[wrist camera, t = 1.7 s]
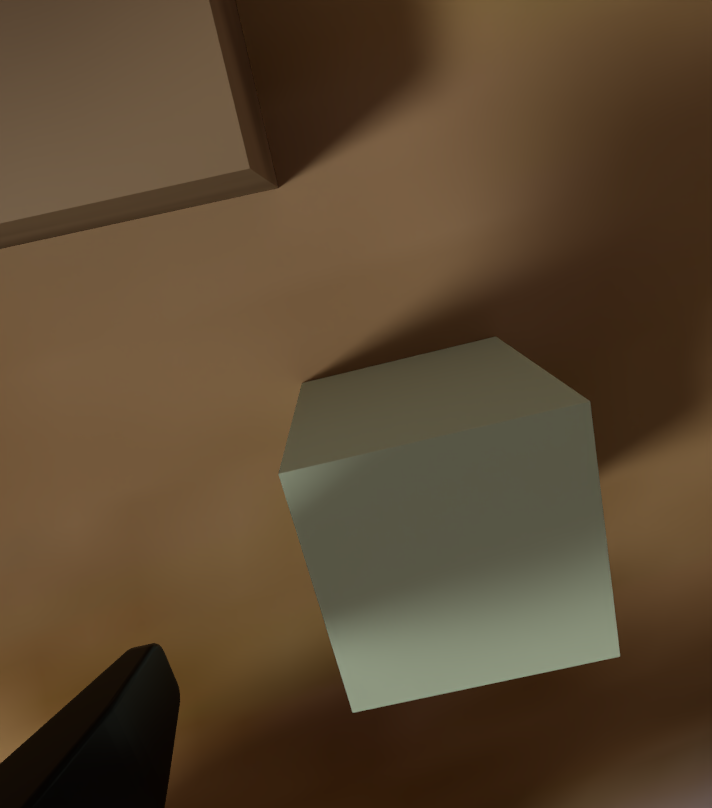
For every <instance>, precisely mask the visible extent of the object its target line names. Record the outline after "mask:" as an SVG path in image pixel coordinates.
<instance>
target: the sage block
mask: <svg viewBox="0 0 712 808" xmlns="http://www.w3.org/2000/svg"><path fill="white" fill-rule="evenodd" d="M279 477H280V480H281V484H282V487H283V490H284V493H285V496H286V500H287V503H288V506H289V509H290V513H291V516H292V519H293V522H294V525H295V529H296V532H297V535H298V538H299V542H300V545H301V548H302V551H303V554H304V558H305V561H306V564H307V567H308V571H309V574H310V577H311V580H312V583H313V587H314V590H315V593H316V596H317V600H318V603H319V606H320V609H321V612H322V616H323V619H324V622H325V625H326V629H327V632H328V635H329V638H330V641H331V645H332V648H333V651H334V654H335V658H336V661H337V664H338V667H339V670H340V674H341V677H342V680H343V683H344V686H345V690H346V693H347V696H348V699H349V703H350V706H351V709H352V712H353V713H355V712H359V711H364V710H369V709H374V708H378V707H383V706H388V705H393V704H397V703H402V702H407V701H412V700H416V699H421V698H426V697H431V696H435V695H440V694H445V693H450V692H454V691H459V690H464V689H469V688H473V687H478V686H483V685H488V684H492V683H497V682H502V681H507V680H511V679H516V678H521V677H526V676H530V675H535V674H540V673H545V672H549V671H554V670H559V669H564V668H568V667H573V666H578V665H583V664H587V663H592V662H597V661H602V660H606V659H611V658H616V657H620V650H619V642H618V633H617V625H616V616H615V608H614V599H613V591H612V582H611V574H610V566H609V557H608V549H607V540H606V532H605V523H604V515H603V506H602V498H601V489H600V481H599V472H598V464H597V455H596V447H595V438H594V430H593V421H592V413H591V404H590V401H589V400H588V399H586V398H585V397H583V396H582V395H580V394H579V393H577V392H576V391H575V390H573V389H572V388H570V387H569V386H567V385H566V384H564V383H563V382H561V381H560V380H559V379H557V378H556V377H554V376H553V375H551V374H550V373H548V372H547V371H545V370H544V369H543V368H541V367H540V366H538V365H537V364H535V363H534V362H532V361H531V360H529V359H528V358H527V357H525V356H524V355H522V354H521V353H519V352H518V351H516V350H515V349H514V348H512V347H511V346H509V345H508V344H506V343H505V342H503V341H502V340H500V339H499V338H498V337H492V338H487V339H483V340H479V341H475V342H471V343H467V344H463V345H458V346H454V347H450V348H446V349H442V350H438V351H433V352H429V353H425V354H421V355H417V356H413V357H409V358H404V359H400V360H396V361H392V362H388V363H384V364H380V365H375V366H371V367H367V368H363V369H359V370H355V371H350V372H346V373H342V374H338V375H334V376H330V377H326V378H321V379H317V380H313V381H309V382H305V383H302V385H301V389H300V393H299V397H298V401H297V404H296V408H295V412H294V416H293V420H292V424H291V428H290V431H289V435H288V439H287V443H286V447H285V451H284V455H283V458H282V462H281V466H280V470H279Z"/></svg>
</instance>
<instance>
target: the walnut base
mask: <svg viewBox="0 0 712 808" xmlns="http://www.w3.org/2000/svg"><path fill="white" fill-rule="evenodd" d="M276 188H278V184H277V179H276V175H275V171H274V166H273V162H272V158H271V153H270V149H269V145H268V140H267V136H266V132H265V127H264V123H263V119H262V114H261V110H260V106H259V101H258V97H257V93H256V88H255V84H254V80H253V75H252V71H251V67H250V62H249V58H248V54H247V49H246V45H245V41H244V36H243V32H242V28H241V23H240V19H239V14H238V10H237V6H236V1H235V0H0V249H1V248H6V247H11V246H15V245H20V244H24V243H29V242H33V241H38V240H43V239H47V238H52V237H56V236H61V235H66V234H70V233H75V232H79V231H84V230H88V229H93V228H98V227H102V226H107V225H111V224H116V223H120V222H125V221H130V220H134V219H139V218H143V217H148V216H153V215H157V214H162V213H166V212H171V211H175V210H180V209H185V208H189V207H194V206H198V205H203V204H207V203H212V202H217V201H221V200H226V199H230V198H235V197H239V196H244V195H249V194H253V193H258V192H262V191H267V190H272V189H276Z"/></svg>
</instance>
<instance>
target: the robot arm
mask: <svg viewBox="0 0 712 808" xmlns="http://www.w3.org/2000/svg"><path fill="white" fill-rule="evenodd" d="M179 706H180V691H179V687H178V684H177V681H176V679H175V676H174V674H173V672H172V669H171V667H170V665H169V662H168V660H167V657H166V655H165V653H164V651H163V649H162V647H161V646H160V645H158V644H156V643H152V644H148V645H143V646H138V647H134V648H131V649H129V650H128V651H126V652H125V653H124V654H123V655H122V656H121V657H120V658H119V659H117V660H116V661H115V662H114V663H113V664H112V665H111V666H110V667H108V668H107V669H106V670H105V671H104V672H103V673H102V674H101V675H99V676H98V677H97V678H96V679H95V680H94V681H93V682H92V683H90V684H89V685H88V686H87V687H86V688H85V689H84V690H83V691H81V692H80V693H79V694H78V695H77V696H76V697H75V698H74V699H72V700H71V701H70V702H69V703H68V704H67V705H66V706H65V707H63V708H62V709H61V710H60V711H59V712H58V713H57V714H56V715H55V716H53V717H52V718H51V719H50V720H49V721H48V722H47V723H46V724H44V725H43V726H42V727H41V728H40V729H39V730H38V731H37V732H35V733H34V734H33V735H32V736H31V737H30V738H29V739H28V740H26V741H25V742H24V743H23V744H22V745H21V746H20V747H19V748H17V749H16V750H15V751H14V752H13V753H12V754H11V755H10V756H8V757H7V758H6V759H5V760H4V761H3V762H2V763H1V764H0V808H164V807H165V801H166V796H167V789H168V782H169V775H170V768H171V761H172V754H173V747H174V740H175V733H176V726H177V720H178V713H179Z"/></svg>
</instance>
